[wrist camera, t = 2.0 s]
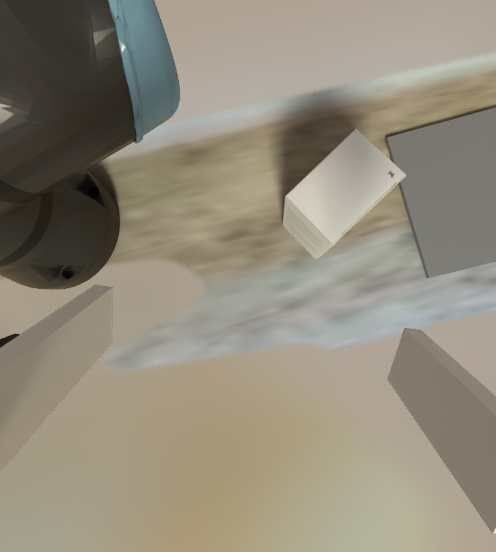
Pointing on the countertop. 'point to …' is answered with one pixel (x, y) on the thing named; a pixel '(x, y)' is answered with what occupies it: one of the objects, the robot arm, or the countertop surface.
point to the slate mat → (450, 190)
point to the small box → (338, 193)
